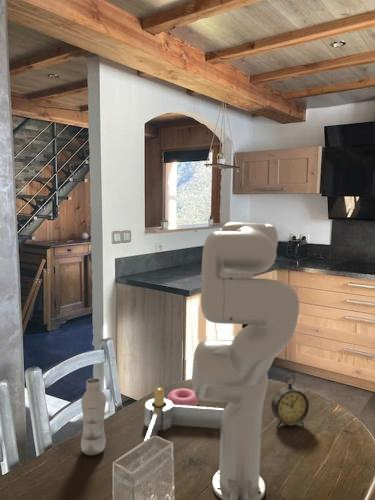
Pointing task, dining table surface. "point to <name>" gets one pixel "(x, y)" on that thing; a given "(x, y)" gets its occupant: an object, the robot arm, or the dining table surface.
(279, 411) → the alarm clock
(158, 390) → the hinge pin
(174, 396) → the doughnut
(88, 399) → the plastic bottle
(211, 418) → the hinge
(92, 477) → the dining table surface
